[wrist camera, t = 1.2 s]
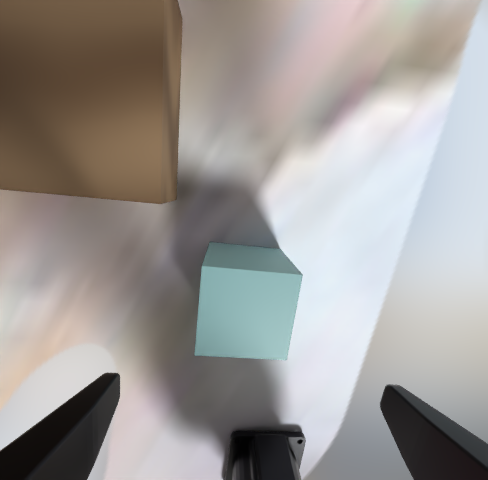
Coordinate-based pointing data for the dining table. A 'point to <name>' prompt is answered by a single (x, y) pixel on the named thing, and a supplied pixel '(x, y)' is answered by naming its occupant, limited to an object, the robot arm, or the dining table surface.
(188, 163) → the dining table surface
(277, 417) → the dining table surface
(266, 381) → the dining table surface
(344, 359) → the dining table surface
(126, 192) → the walnut block
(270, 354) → the teal cube
